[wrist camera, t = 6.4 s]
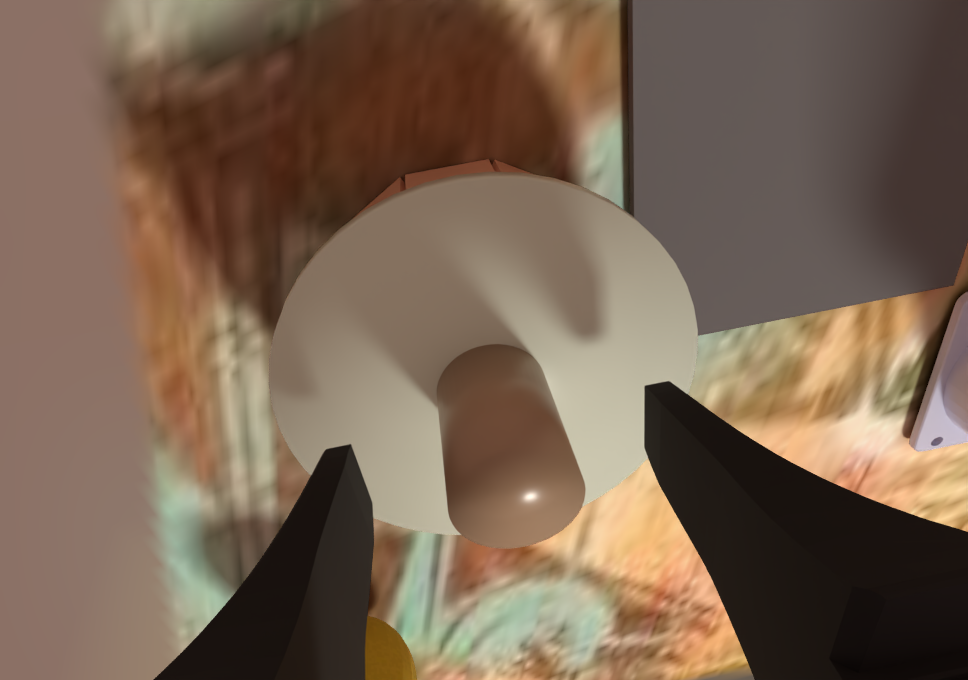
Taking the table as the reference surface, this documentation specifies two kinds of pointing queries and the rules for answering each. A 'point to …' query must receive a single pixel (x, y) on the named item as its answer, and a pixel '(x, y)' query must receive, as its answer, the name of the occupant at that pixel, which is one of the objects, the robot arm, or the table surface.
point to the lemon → (386, 653)
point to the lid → (482, 352)
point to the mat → (800, 149)
